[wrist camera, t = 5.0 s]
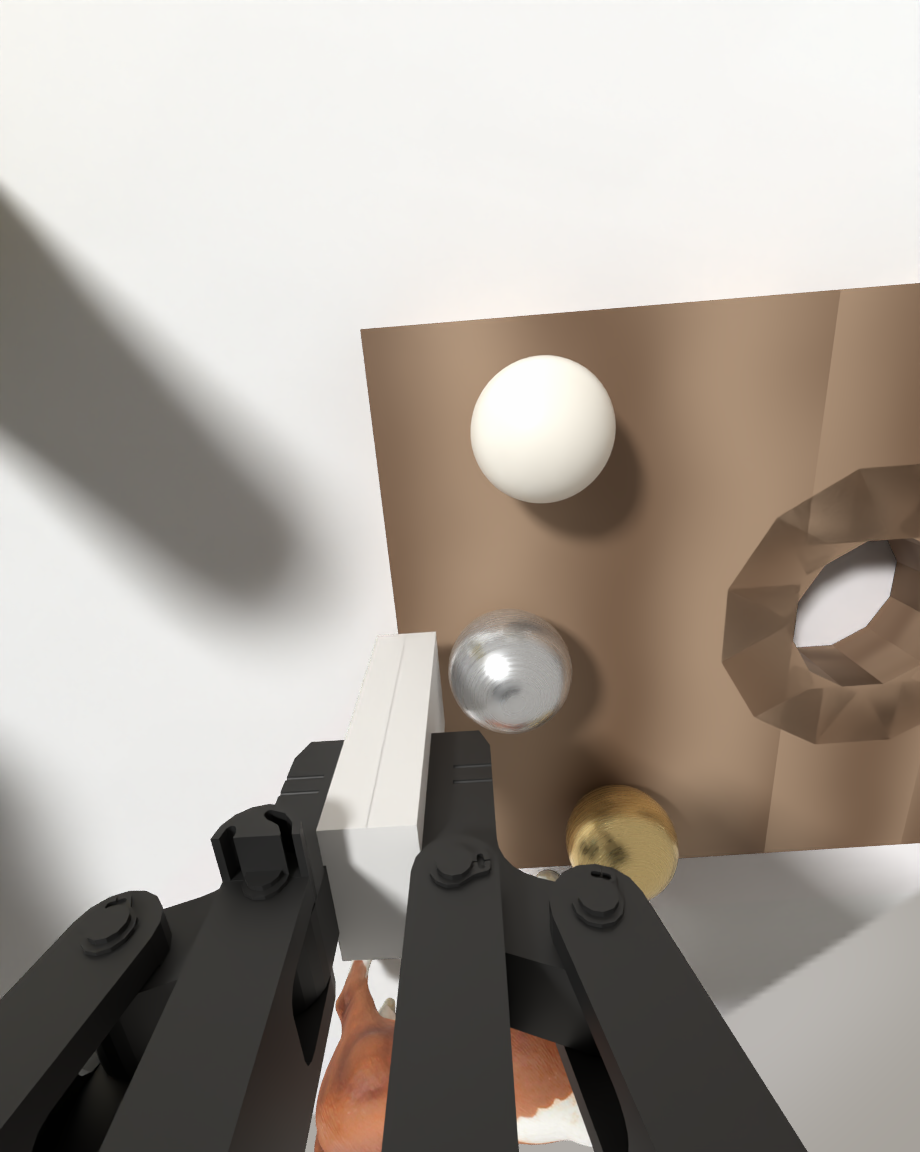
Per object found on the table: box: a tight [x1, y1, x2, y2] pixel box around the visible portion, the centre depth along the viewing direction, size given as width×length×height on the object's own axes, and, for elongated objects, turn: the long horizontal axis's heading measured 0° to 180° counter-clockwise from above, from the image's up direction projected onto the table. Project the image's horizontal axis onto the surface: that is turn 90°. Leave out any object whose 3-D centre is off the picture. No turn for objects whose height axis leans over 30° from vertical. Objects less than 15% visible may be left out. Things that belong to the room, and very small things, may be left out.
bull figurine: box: [314, 870, 592, 1152], centre depth 20 cm, size 4×13×8 cm, turn 108°
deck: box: [360, 283, 920, 869], centre depth 18 cm, size 18×17×2 cm
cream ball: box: [471, 355, 616, 503], centre depth 13 cm, size 3×3×3 cm
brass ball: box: [566, 785, 679, 900], centre depth 17 cm, size 3×3×3 cm
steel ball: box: [448, 609, 572, 734], centre depth 15 cm, size 3×3×3 cm
